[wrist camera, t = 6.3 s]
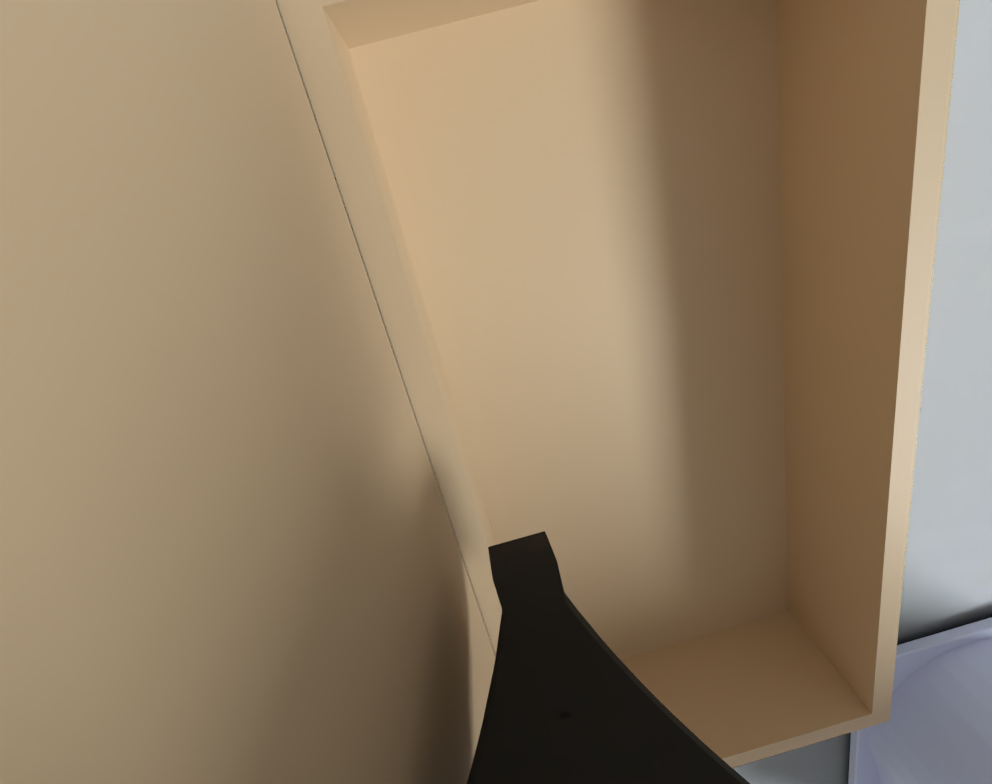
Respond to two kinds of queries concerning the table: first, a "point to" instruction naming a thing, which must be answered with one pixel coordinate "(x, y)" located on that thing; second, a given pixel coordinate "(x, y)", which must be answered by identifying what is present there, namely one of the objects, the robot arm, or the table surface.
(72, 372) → the lid flap
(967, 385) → the table surface
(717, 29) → the carton
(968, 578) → the table surface
